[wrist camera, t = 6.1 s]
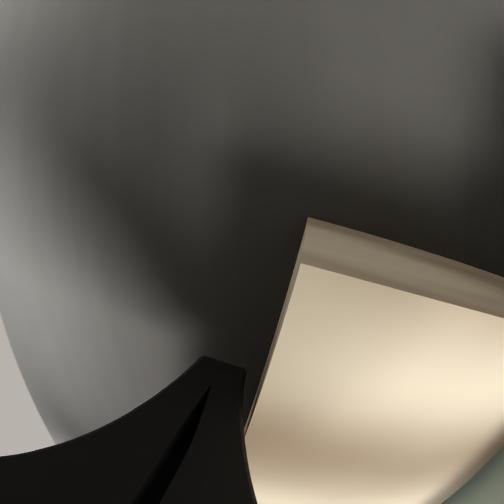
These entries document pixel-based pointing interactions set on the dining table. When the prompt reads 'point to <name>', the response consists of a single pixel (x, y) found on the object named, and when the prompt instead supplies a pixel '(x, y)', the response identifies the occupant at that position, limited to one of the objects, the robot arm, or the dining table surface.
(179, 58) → the dining table surface
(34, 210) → the dining table surface
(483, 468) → the sage board
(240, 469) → the robot arm
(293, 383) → the maple block
